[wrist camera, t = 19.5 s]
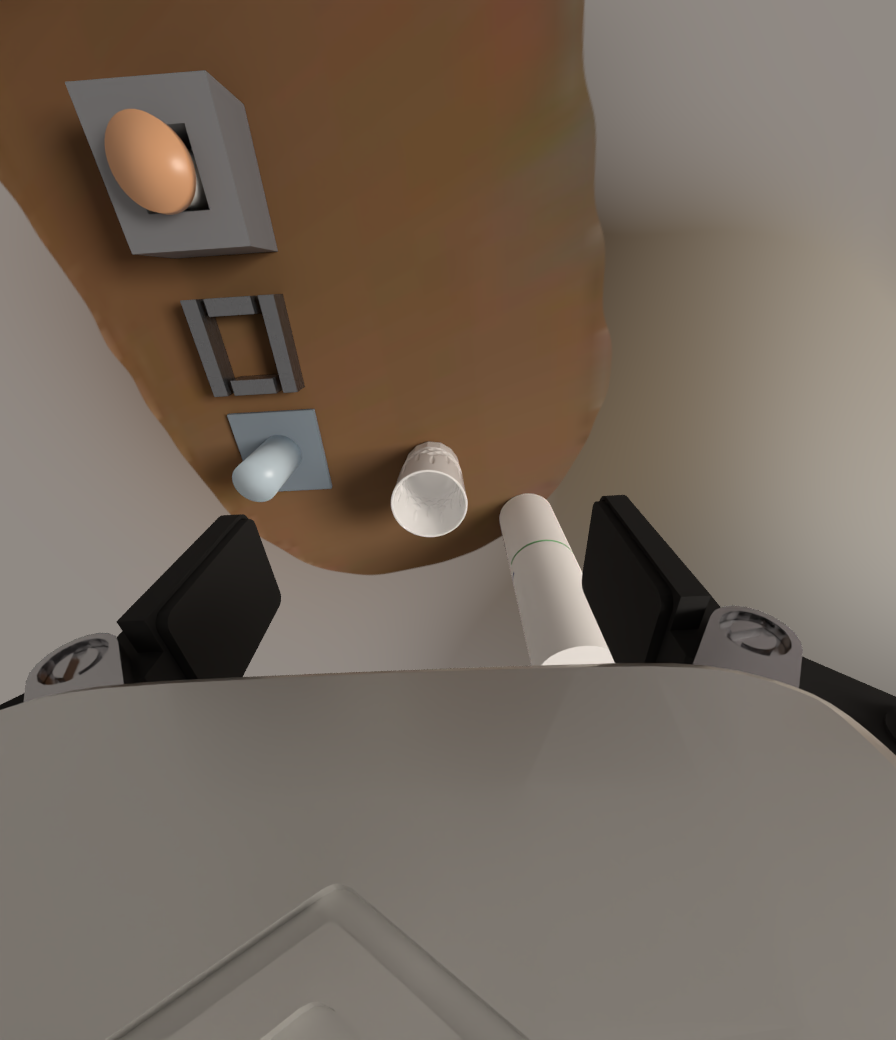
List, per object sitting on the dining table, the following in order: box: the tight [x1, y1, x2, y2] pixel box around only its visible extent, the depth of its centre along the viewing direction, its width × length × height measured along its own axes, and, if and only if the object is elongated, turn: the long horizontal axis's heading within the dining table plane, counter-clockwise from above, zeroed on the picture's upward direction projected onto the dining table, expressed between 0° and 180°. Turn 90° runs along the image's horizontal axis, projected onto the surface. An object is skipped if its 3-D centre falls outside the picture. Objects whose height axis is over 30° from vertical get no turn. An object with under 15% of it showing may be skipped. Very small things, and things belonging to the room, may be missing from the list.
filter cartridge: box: [232, 435, 301, 502], centre depth 44 cm, size 4×4×8 cm
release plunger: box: [104, 109, 210, 215], centre depth 31 cm, size 6×6×6 cm
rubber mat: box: [227, 409, 332, 491], centre depth 48 cm, size 10×10×1 cm
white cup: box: [391, 442, 467, 537], centre depth 45 cm, size 8×8×10 cm
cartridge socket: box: [180, 294, 305, 397], centre depth 41 cm, size 9×9×2 cm
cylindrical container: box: [499, 494, 615, 666], centre depth 42 cm, size 7×7×25 cm
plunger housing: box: [65, 70, 278, 259], centre depth 32 cm, size 10×10×6 cm
